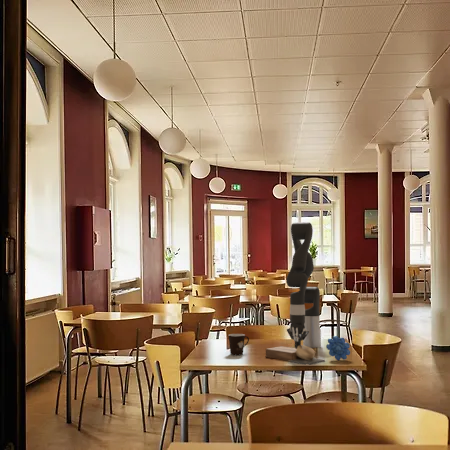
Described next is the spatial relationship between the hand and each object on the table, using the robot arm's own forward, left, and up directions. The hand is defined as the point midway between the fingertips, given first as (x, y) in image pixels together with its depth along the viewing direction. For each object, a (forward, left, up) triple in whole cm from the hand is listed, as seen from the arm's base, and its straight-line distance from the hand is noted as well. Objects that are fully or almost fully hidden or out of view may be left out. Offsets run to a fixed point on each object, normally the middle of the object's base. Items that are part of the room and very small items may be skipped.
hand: (297, 348), depth 313 cm
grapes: (-12, +16, -6) cm, 21 cm away
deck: (0, -7, -5) cm, 9 cm away
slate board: (+2, +8, -5) cm, 9 cm away
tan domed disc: (+1, +5, -3) cm, 5 cm away
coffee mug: (+10, -31, -6) cm, 33 cm away
